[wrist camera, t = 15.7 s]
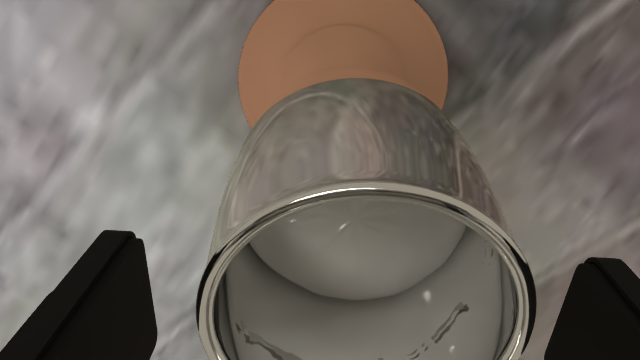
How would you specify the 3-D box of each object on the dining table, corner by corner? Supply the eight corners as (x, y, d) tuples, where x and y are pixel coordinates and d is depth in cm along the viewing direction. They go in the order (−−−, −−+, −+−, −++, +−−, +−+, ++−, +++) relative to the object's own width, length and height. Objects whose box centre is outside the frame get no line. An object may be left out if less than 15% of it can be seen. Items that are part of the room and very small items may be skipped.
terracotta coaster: (486, 92, 23) (490, 95, 22) (333, 207, 26) (333, 212, 25) (353, -81, 19) (353, -82, 19) (198, 77, 23) (195, 80, 22)
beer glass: (364, -21, 20) (435, 87, 7) (442, 106, 22) (605, 363, 9) (240, 73, 22) (105, 297, 9) (325, 179, 24) (322, 473, 11)
